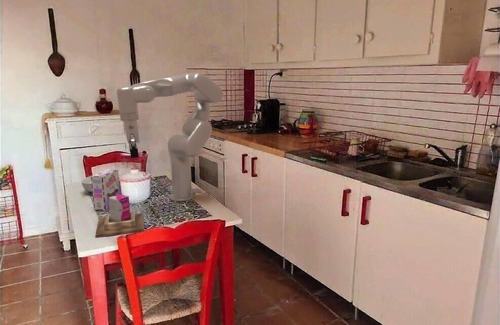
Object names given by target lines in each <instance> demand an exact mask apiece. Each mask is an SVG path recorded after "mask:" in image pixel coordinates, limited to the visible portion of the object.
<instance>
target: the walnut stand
mask: <svg viewBox="0 0 500 325" xmlns="http://www.w3.org/2000/svg"><path fill="white" fill-rule="evenodd" d="M97 219H98V220H97V224H96V230H95V238H102V237H111V236H118V235H126V234H128V235H129V234H134V233H139V232H138V231H143V230H144V231H145V225H144V214H143V212H139V213H135V211H134V210H133V211H132V210H130V220H128V221H120V222H112V223H111V220H110V213H106V214H105V217H98V218H97ZM144 231H143V232H144Z"/></svg>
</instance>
